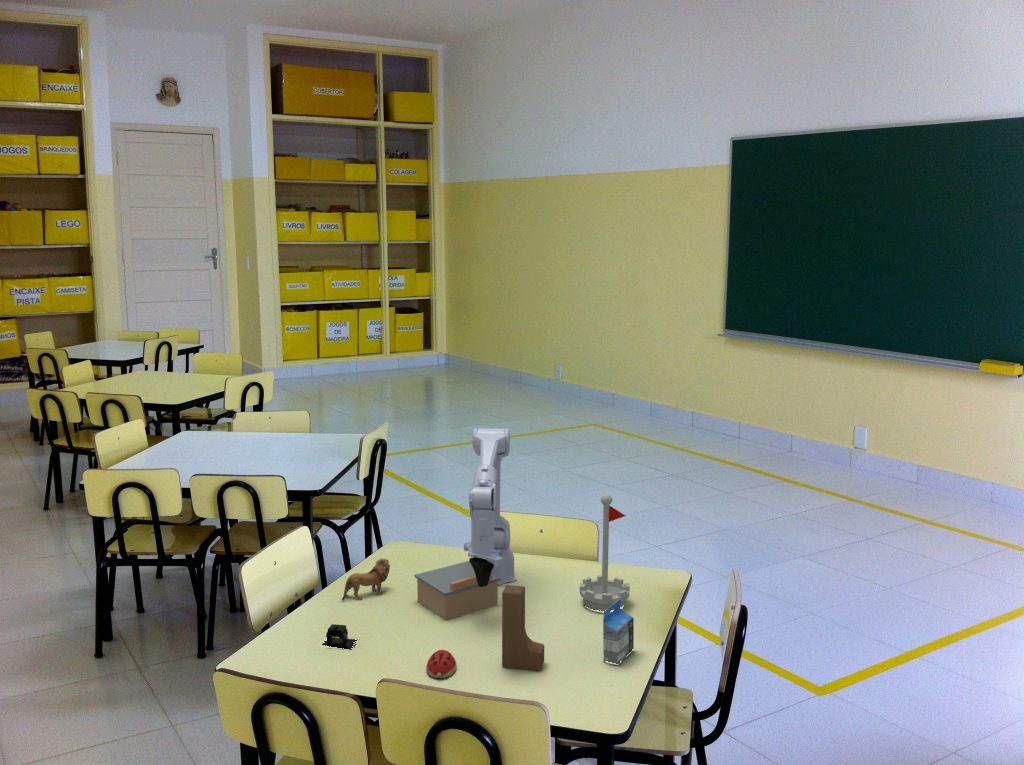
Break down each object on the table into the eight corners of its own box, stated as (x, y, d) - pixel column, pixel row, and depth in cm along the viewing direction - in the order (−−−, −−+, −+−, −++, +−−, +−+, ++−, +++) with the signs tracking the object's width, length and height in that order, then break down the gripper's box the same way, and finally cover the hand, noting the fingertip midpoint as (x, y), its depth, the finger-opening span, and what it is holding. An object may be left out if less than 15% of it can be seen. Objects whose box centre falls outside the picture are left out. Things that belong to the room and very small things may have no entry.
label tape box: (617, 666, 201) (619, 615, 199) (601, 662, 203) (602, 611, 201) (634, 651, 208) (635, 601, 206) (618, 647, 210) (619, 597, 208)
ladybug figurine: (456, 659, 204) (456, 645, 204) (456, 681, 195) (456, 666, 194) (427, 660, 204) (427, 645, 204) (425, 682, 194) (425, 666, 194)
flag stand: (572, 609, 231) (574, 498, 225) (587, 591, 243) (589, 484, 237) (621, 618, 226) (624, 504, 221) (634, 598, 238) (637, 490, 233)
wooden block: (544, 662, 203) (545, 587, 200) (541, 671, 198) (541, 595, 195) (505, 658, 205) (505, 584, 202) (501, 667, 200) (501, 591, 197)
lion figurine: (384, 585, 246) (383, 554, 245) (394, 591, 242) (394, 560, 240) (336, 599, 237) (335, 567, 235) (346, 605, 233) (345, 573, 231)
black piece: (306, 649, 210) (306, 631, 209) (318, 636, 217) (318, 618, 216) (357, 654, 208) (356, 635, 207) (367, 640, 215) (367, 622, 214)
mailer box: (468, 587, 245) (468, 564, 244) (497, 604, 234) (497, 581, 232) (417, 601, 235) (417, 578, 234) (445, 620, 224) (445, 595, 223)
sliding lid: (468, 562, 244) (468, 554, 244) (500, 580, 232) (500, 571, 232) (414, 577, 234) (414, 568, 234) (444, 595, 222) (444, 586, 222)
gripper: (453, 528, 225) (453, 579, 227) (485, 545, 213) (486, 598, 215) (476, 523, 229) (476, 573, 231) (509, 539, 217) (509, 592, 219)
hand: (482, 585), depth 223 cm, fingers closed
